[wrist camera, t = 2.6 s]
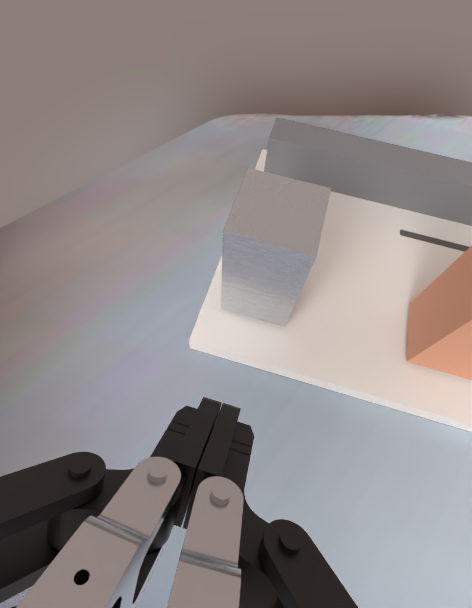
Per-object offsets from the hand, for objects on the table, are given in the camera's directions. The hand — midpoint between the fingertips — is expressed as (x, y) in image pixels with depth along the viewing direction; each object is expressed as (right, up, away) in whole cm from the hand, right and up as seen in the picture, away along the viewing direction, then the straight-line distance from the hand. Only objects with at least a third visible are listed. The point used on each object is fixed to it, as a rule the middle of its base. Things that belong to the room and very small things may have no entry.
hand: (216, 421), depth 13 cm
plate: (+11, +7, +17) cm, 22 cm away
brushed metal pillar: (+3, +6, +14) cm, 15 cm away
